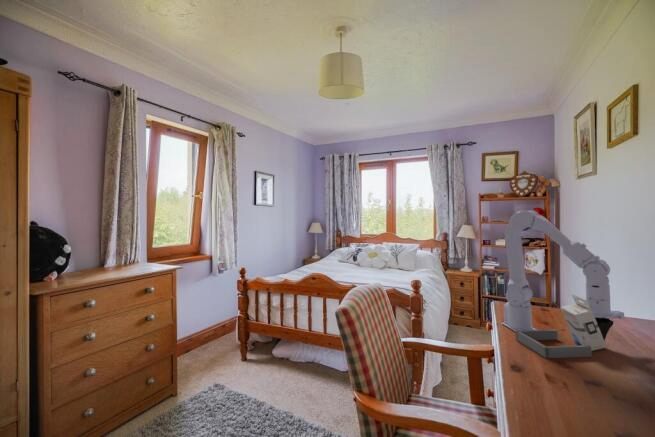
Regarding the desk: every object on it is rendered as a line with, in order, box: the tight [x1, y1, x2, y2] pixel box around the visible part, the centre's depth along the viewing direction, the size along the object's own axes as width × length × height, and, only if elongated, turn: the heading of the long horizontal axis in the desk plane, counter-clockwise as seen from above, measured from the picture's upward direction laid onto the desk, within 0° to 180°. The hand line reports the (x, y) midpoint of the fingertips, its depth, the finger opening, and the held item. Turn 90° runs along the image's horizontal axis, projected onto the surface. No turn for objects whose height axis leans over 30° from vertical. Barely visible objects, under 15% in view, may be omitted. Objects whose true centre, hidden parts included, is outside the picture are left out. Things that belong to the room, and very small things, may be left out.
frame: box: [515, 329, 593, 359], centre depth 96 cm, size 14×14×3 cm
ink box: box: [560, 294, 607, 352], centre depth 97 cm, size 9×5×15 cm, turn 168°
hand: (599, 341), depth 96 cm, fingers closed
